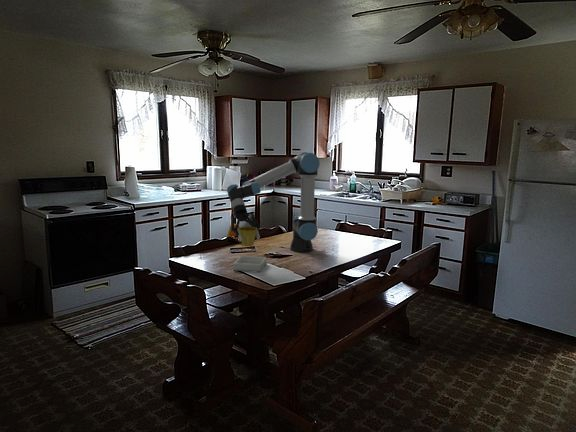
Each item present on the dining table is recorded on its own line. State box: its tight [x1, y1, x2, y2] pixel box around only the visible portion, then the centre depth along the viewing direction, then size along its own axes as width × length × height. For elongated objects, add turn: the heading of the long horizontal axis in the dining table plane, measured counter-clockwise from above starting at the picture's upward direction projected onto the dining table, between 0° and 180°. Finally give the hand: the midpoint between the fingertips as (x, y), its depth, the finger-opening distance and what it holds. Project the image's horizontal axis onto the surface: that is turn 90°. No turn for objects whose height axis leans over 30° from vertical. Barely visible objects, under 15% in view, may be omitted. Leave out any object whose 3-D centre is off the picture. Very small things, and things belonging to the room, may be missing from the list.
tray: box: [232, 255, 267, 273], centre depth 230 cm, size 16×16×4 cm
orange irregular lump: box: [226, 223, 241, 239], centre depth 292 cm, size 11×7×12 cm, turn 130°
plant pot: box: [239, 226, 257, 247], centre depth 230 cm, size 10×10×10 cm
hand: (249, 239), depth 228 cm, fingers closed on plant pot, 10 cm apart
